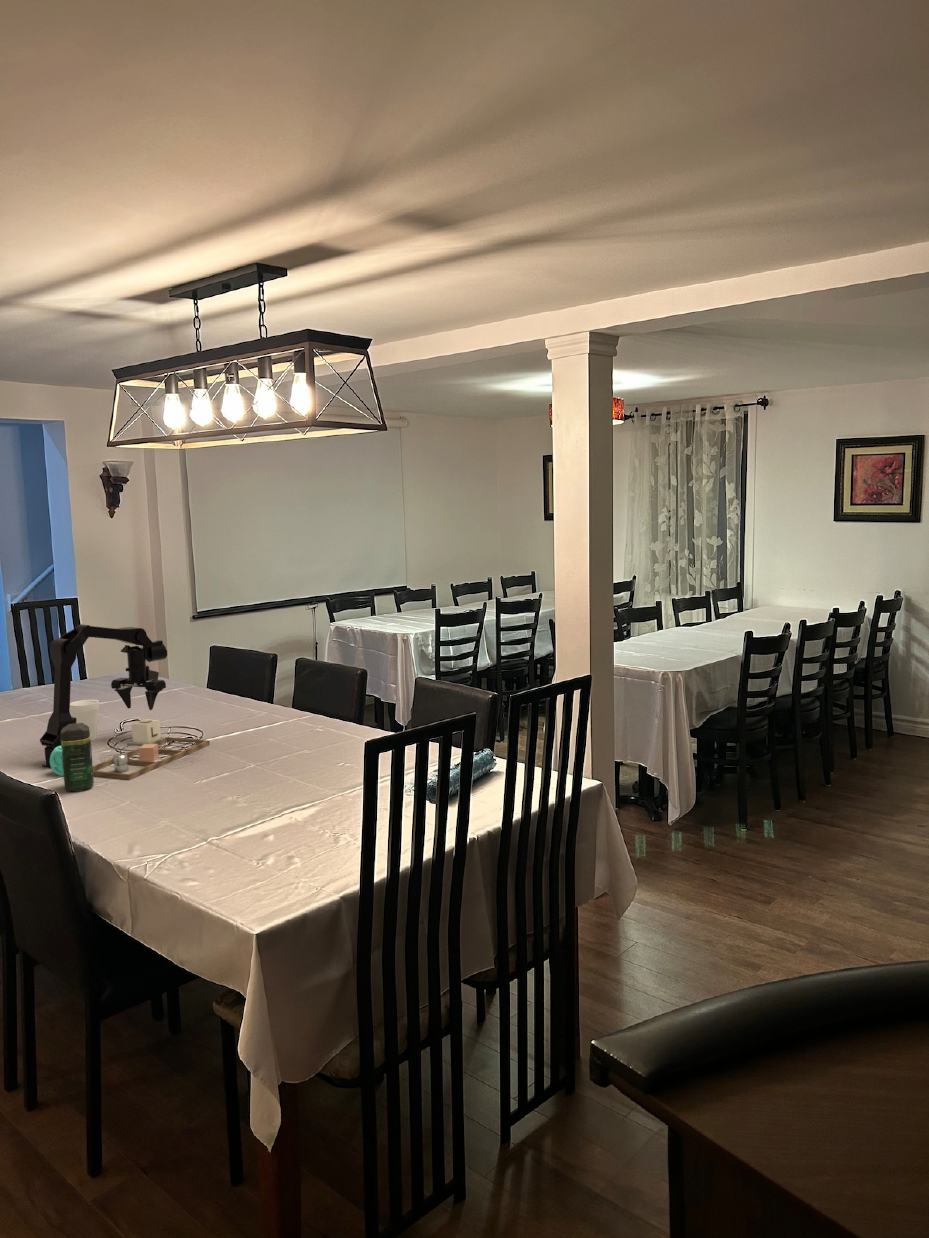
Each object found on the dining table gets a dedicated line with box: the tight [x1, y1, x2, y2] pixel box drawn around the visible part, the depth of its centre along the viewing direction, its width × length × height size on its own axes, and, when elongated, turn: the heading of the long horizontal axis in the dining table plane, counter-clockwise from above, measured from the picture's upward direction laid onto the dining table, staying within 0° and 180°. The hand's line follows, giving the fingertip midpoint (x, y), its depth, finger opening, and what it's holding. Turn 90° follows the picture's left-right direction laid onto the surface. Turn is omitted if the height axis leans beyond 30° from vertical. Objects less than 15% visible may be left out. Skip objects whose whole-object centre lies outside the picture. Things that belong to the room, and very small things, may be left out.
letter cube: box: [130, 718, 162, 743], centre depth 309 cm, size 6×7×7 cm
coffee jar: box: [60, 723, 94, 792], centre depth 261 cm, size 10×8×19 cm
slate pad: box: [126, 736, 164, 747], centre depth 310 cm, size 9×9×1 cm
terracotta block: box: [138, 744, 160, 762], centre depth 289 cm, size 4×4×4 cm
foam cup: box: [70, 699, 100, 741], centre depth 316 cm, size 10×9×13 cm
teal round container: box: [50, 746, 64, 777], centre depth 277 cm, size 8×8×8 cm
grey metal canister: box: [112, 752, 129, 774], centre depth 277 cm, size 4×4×5 cm
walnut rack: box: [93, 736, 211, 781], centre depth 289 cm, size 39×18×2 cm, turn 160°
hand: (140, 708), depth 308 cm, fingers open, 9 cm apart
